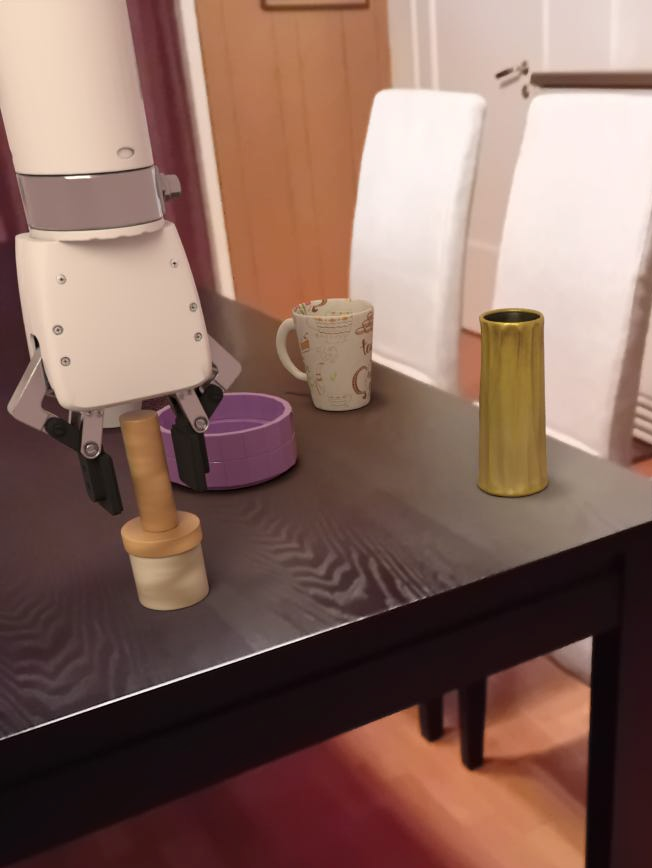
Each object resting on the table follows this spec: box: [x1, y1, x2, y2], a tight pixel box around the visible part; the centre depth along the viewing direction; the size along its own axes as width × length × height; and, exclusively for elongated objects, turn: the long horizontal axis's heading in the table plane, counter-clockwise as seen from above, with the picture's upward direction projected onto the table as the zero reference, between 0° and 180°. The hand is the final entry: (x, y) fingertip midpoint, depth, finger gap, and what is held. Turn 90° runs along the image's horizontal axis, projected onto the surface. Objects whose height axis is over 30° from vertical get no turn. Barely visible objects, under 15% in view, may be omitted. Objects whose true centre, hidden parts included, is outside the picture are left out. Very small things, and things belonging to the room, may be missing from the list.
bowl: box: [156, 392, 299, 491], centre depth 91 cm, size 12×12×5 cm
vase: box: [476, 307, 549, 498], centre depth 83 cm, size 6×6×14 cm
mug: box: [275, 297, 375, 412], centre depth 107 cm, size 8×13×10 cm, turn 61°
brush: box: [119, 409, 210, 611], centre depth 68 cm, size 5×5×13 cm
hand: (152, 494), depth 67 cm, fingers open, 5 cm apart
